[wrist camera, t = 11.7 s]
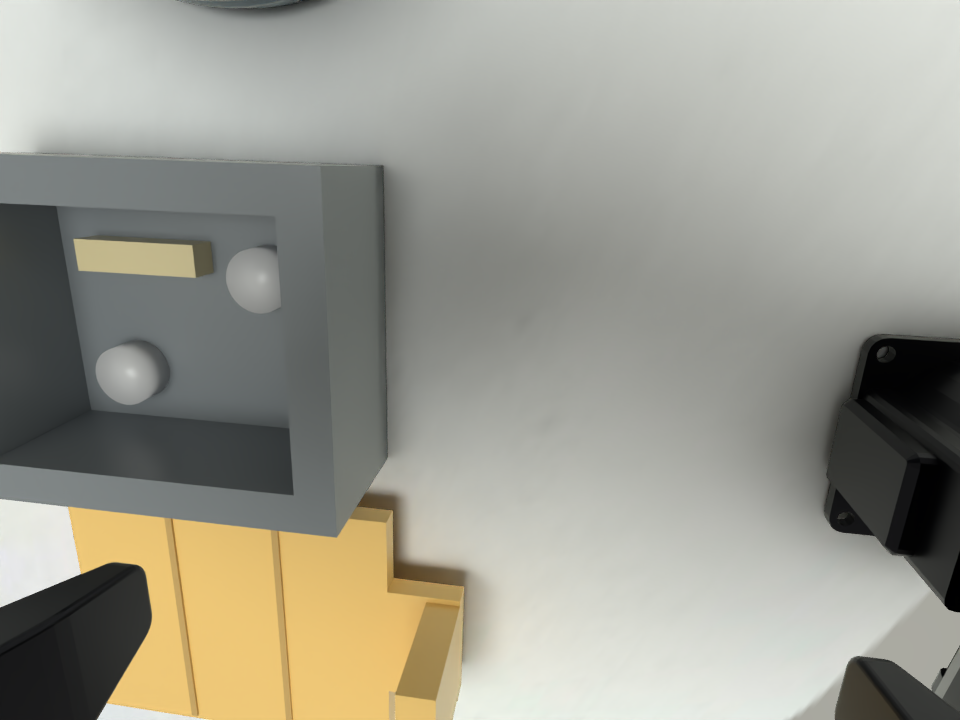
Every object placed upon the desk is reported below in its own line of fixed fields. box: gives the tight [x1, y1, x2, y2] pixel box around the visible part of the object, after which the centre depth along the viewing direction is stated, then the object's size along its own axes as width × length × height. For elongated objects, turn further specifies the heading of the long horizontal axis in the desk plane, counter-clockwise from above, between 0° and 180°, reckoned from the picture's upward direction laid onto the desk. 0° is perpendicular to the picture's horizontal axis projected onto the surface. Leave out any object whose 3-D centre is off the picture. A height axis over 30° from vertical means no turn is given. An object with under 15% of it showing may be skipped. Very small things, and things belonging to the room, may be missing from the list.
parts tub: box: [0, 152, 387, 538], centre depth 19 cm, size 12×10×5 cm
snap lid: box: [68, 507, 464, 720], centre depth 22 cm, size 15×10×6 cm
